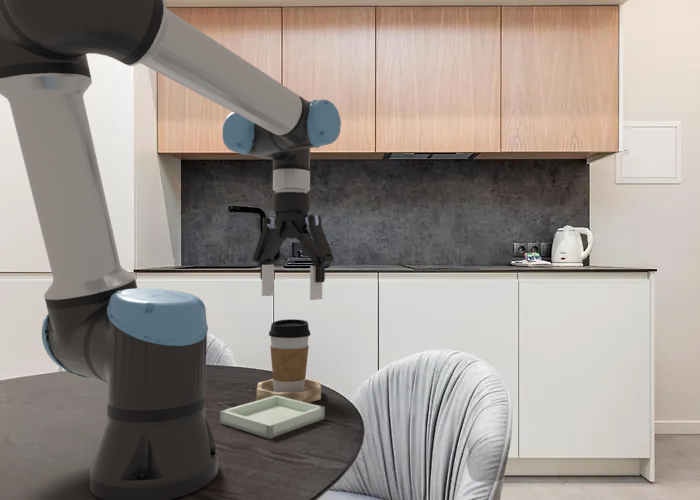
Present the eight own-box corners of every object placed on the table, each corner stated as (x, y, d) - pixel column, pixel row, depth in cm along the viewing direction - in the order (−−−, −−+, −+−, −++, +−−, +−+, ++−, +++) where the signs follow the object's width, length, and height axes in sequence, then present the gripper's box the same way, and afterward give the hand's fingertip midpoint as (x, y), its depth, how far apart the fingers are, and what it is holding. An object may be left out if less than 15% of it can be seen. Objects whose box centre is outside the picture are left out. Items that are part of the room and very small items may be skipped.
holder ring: (289, 409, 95) (289, 397, 95) (243, 397, 103) (244, 386, 103) (332, 395, 105) (333, 384, 105) (288, 385, 113) (288, 375, 113)
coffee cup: (313, 391, 107) (313, 319, 108) (305, 402, 99) (306, 324, 99) (273, 390, 108) (274, 318, 109) (262, 401, 100) (263, 323, 100)
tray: (269, 439, 79) (269, 425, 79) (219, 423, 86) (220, 411, 86) (324, 418, 89) (324, 407, 89) (276, 405, 97) (276, 395, 97)
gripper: (351, 190, 100) (351, 299, 100) (263, 198, 115) (262, 293, 115) (326, 186, 94) (325, 302, 94) (236, 195, 109) (236, 295, 109)
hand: (291, 297), depth 104 cm, fingers open, 13 cm apart
